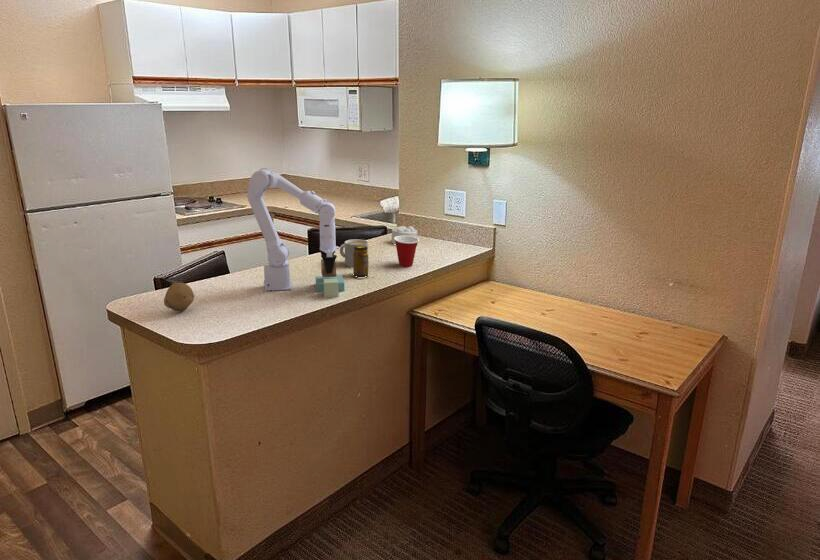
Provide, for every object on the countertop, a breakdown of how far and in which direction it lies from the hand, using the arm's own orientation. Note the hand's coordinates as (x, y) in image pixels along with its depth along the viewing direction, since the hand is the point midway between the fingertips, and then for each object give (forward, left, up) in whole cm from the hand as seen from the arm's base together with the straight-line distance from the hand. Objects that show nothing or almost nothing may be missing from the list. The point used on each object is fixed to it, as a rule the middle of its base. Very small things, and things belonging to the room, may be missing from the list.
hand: (328, 271), depth 216 cm
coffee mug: (+13, +31, -7) cm, 34 cm away
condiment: (+14, +13, -7) cm, 20 cm away
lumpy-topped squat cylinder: (+42, +62, -7) cm, 75 cm away
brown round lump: (-50, -18, -7) cm, 54 cm away
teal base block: (0, 0, -7) cm, 7 cm away
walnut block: (0, 0, -2) cm, 2 cm away
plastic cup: (+35, +25, -7) cm, 44 cm away
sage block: (0, -9, -6) cm, 11 cm away
